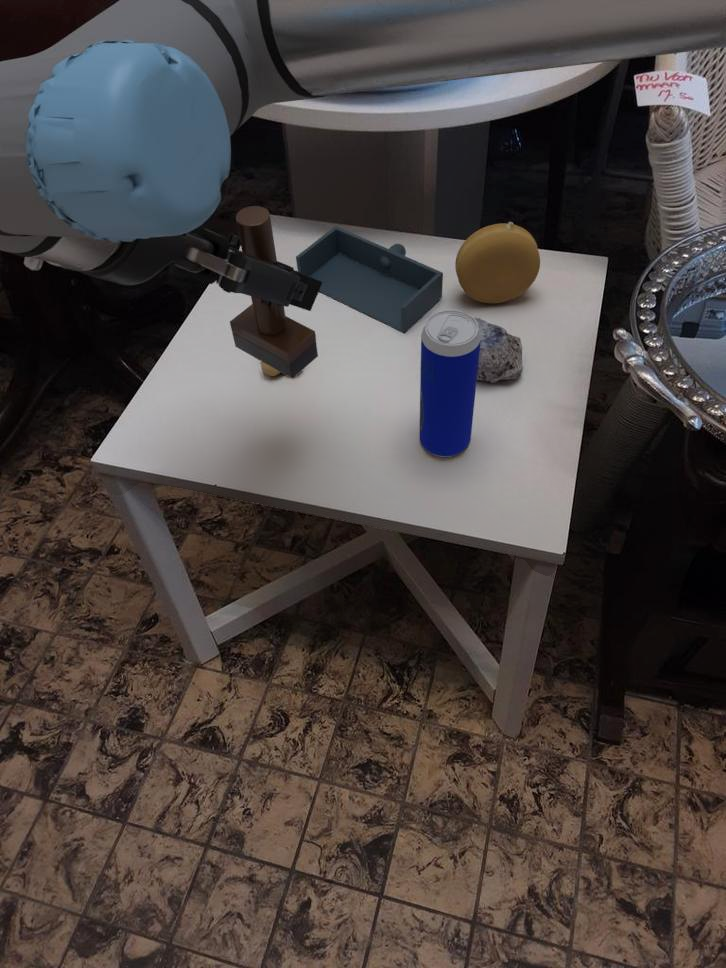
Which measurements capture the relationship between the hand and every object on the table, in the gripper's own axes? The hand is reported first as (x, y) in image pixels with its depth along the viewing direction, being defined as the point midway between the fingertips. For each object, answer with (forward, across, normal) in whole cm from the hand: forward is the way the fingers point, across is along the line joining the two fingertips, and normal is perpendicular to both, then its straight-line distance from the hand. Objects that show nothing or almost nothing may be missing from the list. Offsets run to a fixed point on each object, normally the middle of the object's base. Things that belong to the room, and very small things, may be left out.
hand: (298, 287), depth 68 cm
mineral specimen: (+23, +9, 0) cm, 25 cm away
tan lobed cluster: (+14, -8, -9) cm, 19 cm away
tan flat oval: (+31, +5, +7) cm, 32 cm away
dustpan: (+26, -8, +3) cm, 28 cm away
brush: (+1, 0, -6) cm, 6 cm away
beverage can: (+15, +13, -8) cm, 22 cm away
